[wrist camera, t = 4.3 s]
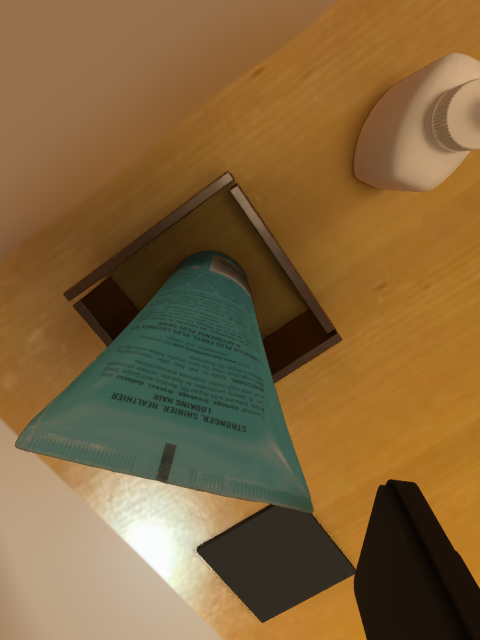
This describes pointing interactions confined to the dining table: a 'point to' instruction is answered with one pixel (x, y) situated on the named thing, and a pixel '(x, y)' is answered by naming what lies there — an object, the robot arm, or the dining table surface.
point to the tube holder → (280, 347)
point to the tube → (182, 396)
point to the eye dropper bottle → (422, 127)
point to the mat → (276, 560)
